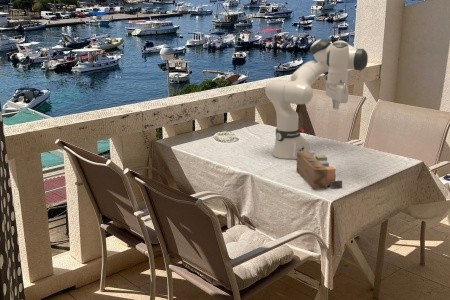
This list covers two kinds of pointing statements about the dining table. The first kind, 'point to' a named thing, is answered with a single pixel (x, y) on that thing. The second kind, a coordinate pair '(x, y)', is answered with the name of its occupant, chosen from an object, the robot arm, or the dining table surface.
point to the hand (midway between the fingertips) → (335, 108)
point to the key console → (314, 172)
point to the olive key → (321, 157)
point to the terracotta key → (330, 174)
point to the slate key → (324, 163)
